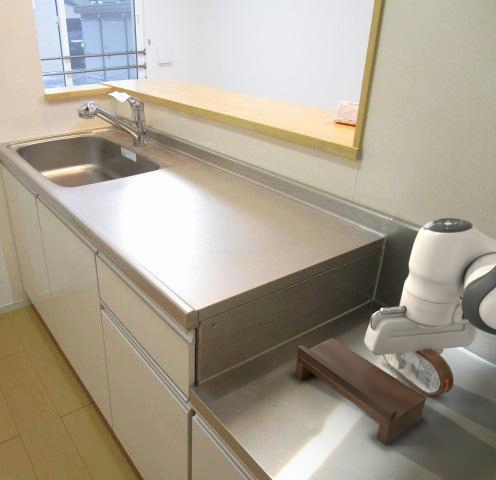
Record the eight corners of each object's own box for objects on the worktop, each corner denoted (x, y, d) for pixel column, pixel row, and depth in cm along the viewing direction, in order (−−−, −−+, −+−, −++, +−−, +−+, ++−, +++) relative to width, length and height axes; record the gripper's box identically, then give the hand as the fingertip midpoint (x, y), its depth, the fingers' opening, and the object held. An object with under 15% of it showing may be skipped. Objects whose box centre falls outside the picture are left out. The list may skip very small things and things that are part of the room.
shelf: (329, 357, 94) (333, 329, 91) (420, 419, 79) (429, 388, 76) (294, 375, 89) (298, 346, 86) (384, 445, 74) (392, 413, 71)
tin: (449, 402, 82) (460, 365, 79) (436, 407, 81) (447, 370, 78) (386, 353, 95) (393, 320, 92) (374, 357, 94) (381, 323, 91)
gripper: (383, 319, 77) (370, 382, 83) (492, 309, 79) (472, 371, 85) (364, 299, 83) (353, 360, 89) (466, 291, 85) (449, 350, 91)
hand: (412, 365), depth 87 cm, fingers open, 4 cm apart
